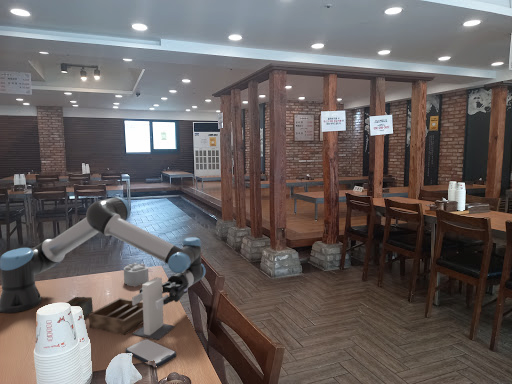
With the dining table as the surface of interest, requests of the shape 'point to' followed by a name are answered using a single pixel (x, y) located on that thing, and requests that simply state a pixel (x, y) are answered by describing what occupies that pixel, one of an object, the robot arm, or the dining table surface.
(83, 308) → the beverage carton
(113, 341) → the dining table surface
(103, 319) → the crate
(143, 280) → the lumpy-topped squat cylinder
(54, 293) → the dining table surface
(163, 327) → the mat
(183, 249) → the robot arm
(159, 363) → the phone case
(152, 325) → the cover plate
